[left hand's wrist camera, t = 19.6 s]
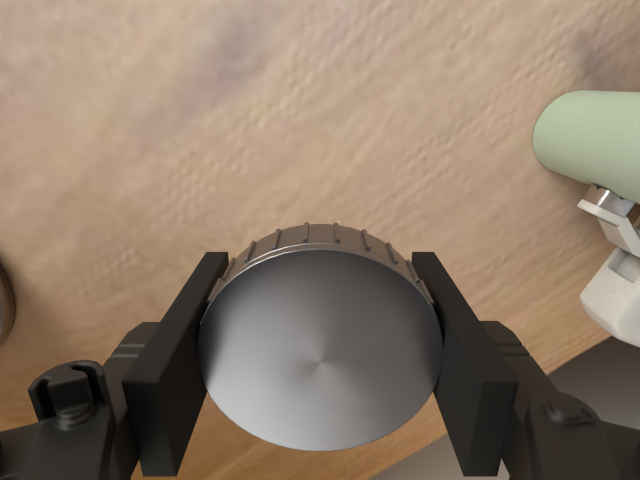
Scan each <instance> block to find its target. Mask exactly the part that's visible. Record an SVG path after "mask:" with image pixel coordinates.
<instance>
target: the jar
mask: <svg viewBox="0 0 640 480" xmlns="http://www.w3.org/2000/svg"><path fill="white" fill-rule="evenodd" d="M532 142H533V149H534V153H535V155H536V157H537V159H538V160H539V162H540V163H541V164H542V165H543V166H545V167H546V168H548V169H550V170H552V171H555V172H557V173H560V174H562V175H565V176H568V177H570V178H573V179H575V180H578V181H581V182H583V183H586V184H588V185H592V184H593V185H596V186H598V187H600V188H604V189H606V190H608V191H611V192H613V193H615V194H617V195H619V196H620V197H622V198H625V199H627V200H630V201H633V202H635V203H638V204H640V92H619V91H592V90H578V91H573V92H569V93H567V94H564V95H562V96H560V97H559V98H557V99H556V100H554V101H553V102H552V103H551V104H549V105H548V106H547V107H546V109H545V110H544V111H543V112H542V114H541V115H540V117H539V119H538V120H537V122H536V125H535V128H534V132H533V138H532Z"/></svg>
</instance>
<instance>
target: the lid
mask: <svg viewBox="0 0 640 480" xmlns="http://www.w3.org/2000/svg"><path fill="white" fill-rule="evenodd" d="M206 303H209V305H208V307H207V309H206V311H205V314H204V316H203V318H202V320H201V322H200V327H199V331H198V336H197V355H198V362H199V369H200V375H201V378H202V381H203V383H204V386H205V388H206V390H207V391H208V393H209V395H210V397H211V398H212V400H213V401H214V402H215V404H216V405H217V406H218V408H219V409H220V410H221V411H222V412H223V413H224V414H225V415H226V416H227V417H228V418H229V419H230V420H231V421H233V422H234V423H235V424H237V425H238V426H239V427H240V428H242V429H244V430H245V431H247V432H249V433H250V434H252V435H254V436H256V437H258V438H260V439H262V440H264V441H267V442H270V443H273V444H276V445H279V446H283V447H287V448H291V449H298V450H305V451H335V450H342V449H349V448H353V447H357V446H361V445H364V444H367V443H370V442H373V441H376V440H378V439H380V438H382V437H384V436H386V435H388V434H390V433H392V432H393V431H395V430H396V429H398V428H400V427H401V426H402V425H404V424H405V423H406V422H407V421H409V420H410V419H411V418H412V417H413V416H414V415H415V414H416V413H417V412H418V411H419V410H420V409H421V408H422V407H423V405H424V404H425V403H426V401H427V400H428V399H429V397H430V395H431V393H432V392H433V390H434V388H435V386H436V384H437V381H438V378H439V376H440V371H441V364H442V357H443V349H444V345H443V335H442V331H441V327H440V323H439V320H438V318H437V316H436V313H435V311H434V309H433V307H432V306H433V305H435V304H434V302H433V300H432V298H431V296H430V294H429V292H428V290H427V288H426V286H425V284H424V282H423V280H421V281H420V280H419V278H418V276H417V274H416V272H415V270H414V268H413V266H412V264H411V262H410V260H409V259H408V260H405V259H404V258H403V257H402V256H401V255H400V254H399V253H398V252H397V251H395V250H394V249H393V248H392V245H391V243H389V242H387V243H385V242H383V241H381V240H380V239H378V238H376V237H374V236H372V235H370V234H368V233H367V232H366V230H364V229H363V230H362V231H359V230H356V229H353V228H349V227H344V226H339V225H338V223H334V225H329V224H311V225H309V223H308V222H307V223H305V224H304V225H301V226H296V227H291V228H287V229H284V230H280V228H279V229H276V232H275V233H273V234H270V235H268V236H266V237H264V238H262V239H260V240H259V241H257V242H255V241H252V242H251V244H250V246H249V247H248V248H247V249H246V250H245V251H243V252H242V253H241V254H240V255H239V256H238V257H237V258H236V259H235V258H232V259H231V261H230V263H229V265H228V267H227V269H226V271H225V273H224V275H223V277H222V279H220V278H218V280H217V282H216V284H215V286H214V288H213V290H212V292H211V294H210V296H209V298H208V300H207V302H206Z"/></svg>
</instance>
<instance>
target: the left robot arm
mask: <svg viewBox="0 0 640 480" xmlns="http://www.w3.org/2000/svg"><path fill="white" fill-rule="evenodd" d="M411 264H412V266H413V268H414V270H415V272H416V274H417V276H418V278H419V280H420V281H421V280H423V282H424V284H425V286H426V288H427V290H428V292H429V294H430V296H431V298H432V300H433V302H434V304H435V305H433V306H432V307H433V309H434V311H435V313H436V316H437V318H438V320H439V323H440V327H441V331H442V335H443V345H444V349H443V357H442V364H441V371H440V376H439V378H438V381H437V384H436V386H435V388H434V390H433V393H434V395H435V398H436V401H437V404H438V407H439V409H440V412H441V415H442V418H443V420H444V423H445V426H446V429H447V431H448V434H449V437H450V440H451V442H452V445H453V448H454V451H455V453H456V456H457V459H458V462H459V464H460V467H461V470H462V473H463V476H497V474H498V470H499V466H500V461H501V458H502V460H503V462H504V464H505V466H506V468H507V470H508V473H509V475H510V477H509V480H640V430H637V429H633V428H629V427H624V426H620V425H616V424H611V423H608V422H605V421H601V420H600V419H599V417H598V416H597V414H596V412H595V411H594V410H592V409H591V408H590V407H589V406H588V405H587V404H585V403H584V402H582V401H581V400H579V399H577V398H575V397H573V396H572V395H568V394H565V393H562V392H559V391H558V390H557V389H556V388H555V386H554V385H553V384H552V382H551V381H550V380H549V378H548V377H547V376H546V374H545V373H544V372H543V371H542V369H541V368H540V367H539V365H538V364H537V363H536V361H535V360H534V359H533V357H532V356H530V354H529V352H528V351H527V350H526V348H525V347H524V346H522V343H521V342H520V341H519V339H518V338H517V337H516V335H515V334H514V333H513V331H511V330H510V329H508V328H507V327H505V326H504V325H503V324H501V323H500V322H498V321H479V320H478V318H477V317H476V315H475V314H474V312H473V311H472V309H471V308H470V306H469V305H468V303H467V302H466V300H465V299H464V297H463V296H462V294H461V293H460V291H459V290H458V288H457V287H456V285H455V284H454V282H453V280H452V279H451V277H450V276H449V274H448V273H447V271H446V270H445V268H444V267H443V265H442V264H441V262H440V261H439V259H438V258H437V256H436V255H435V253H434V252H412V262H411ZM228 265H229V259H228V252H206V254H205V255H204V257H203V258H202V260H201V261H200V263H199V264H198V266H197V267H196V269H195V270H194V272H193V273H192V275H191V276H190V278H189V279H188V281H187V282H186V284H185V285H184V287H183V288H182V290H181V291H180V293H179V295H178V296H177V298H176V299H175V301H174V302H173V304H172V305H171V307H170V308H169V310H168V311H167V313H166V314H165V316H164V317H163V319H162V320H161V322H143V323H141V324H140V325H138V326H137V327H135V328H134V329H133V330H131V331H130V332H128V333H127V335H126V336H125V337H124V339H123V340H122V341H121V343H120V344H119V347H117V348H116V349H115V350H114V352H113V353H112V354H111V358H108V360H107V361H106V362H105V364H104V365H103V366H101V365H100V364H99V363H98V362H95V361H90V360H79V361H72V362H68V363H65V364H61V365H58V366H56V367H54V368H52V369H50V370H48V371H46V372H45V373H43V374H42V375H41V376H39V377H38V378H37V379H35V380H34V381H33V383H32V384H31V385H30V387H29V388H28V389H27V390H28V392H29V395H30V398H31V401H32V404H33V407H34V410H35V413H36V415H37V418H38V421H39V422H38V423H35V424H31V425H27V426H23V427H19V428H14V429H10V430H6V431H2V432H0V480H131V475H132V473H133V471H134V469H135V467H136V465H137V462H138V460H140V465H141V469H142V473H143V476H177V473H178V471H179V468H180V465H181V462H182V460H183V457H184V454H185V451H186V449H187V446H188V443H189V440H190V438H191V435H192V432H193V429H194V426H195V424H196V421H197V418H198V415H199V413H200V410H201V407H202V404H203V402H204V399H205V396H206V393H207V390H206V388H205V386H204V383H203V381H202V378H201V375H200V369H199V362H198V355H197V336H198V331H199V327H200V322H201V320H202V318H203V316H204V314H205V311H206V309H207V307H208V305H209V303H206V302H207V300H208V298H209V296H210V294H211V292H212V290H213V288H214V286H215V284H216V282H217V280H218V278H220V279H222V277H223V275H224V273H225V271H226V269H227V267H228ZM13 321H14V299H13V294H12V290H11V287H10V284H9V282H8V279H7V277H6V275H5V273H4V271H3V269H2V268H1V266H0V347H1V346H2V344H3V343H4V342H5V340H6V339H7V337H8V336H9V333H10V331H11V329H12V325H13Z"/></svg>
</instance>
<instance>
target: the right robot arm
mask: <svg viewBox="0 0 640 480" xmlns="http://www.w3.org/2000/svg"><path fill="white" fill-rule="evenodd" d="M634 204H635V202H633V201H630V200H627V199H625V198H622V197H620V196H619V195H617V194H615V193H613V192H611V191H608V190H606V189H604V188H600V187H598V186H596V185H593V184H592V185H591V186H590V188H589V189H588V191H587V192H586V193H585V195H584V196H583V198H582V200H581V201H580V202H579V204H578V205H577V207H579V208H581V209H583V210H585V211H587V212H589V213H591V214H593V215H596V216H598V217H597V219H598V221H599V223H600V225H601V227H602V229H603V232H604V234H605V236H606V238H607V240H608V241H609V242H611V243H613V244H615V245H617V246H616V248H615V249H614V250H613V252H612V253H611V254H610V256H609V257H608V258H607V260H606V261H605V262H604V264H603V265H602V266H601V268H600V269H599V270H598V272H597V273H596V274H595V276H594V277H593V278H592V280H591V281H590V282H589V284H588V285H587V286H586V287H585V289H584V290H583V291H582V293H581V295H580V301H581V304H582V307H583V309H584V311H585V313H586V314H587V315H588V316H589V317H590V318H591V319H592V320H593V321H594V322H595V323H597V324H598V325H599V326H600V327H601V328H603V329H604V330H605V331H607V332H608V333H609V334H611V335H612V336H614V337H616V338H618V339H619V340H622V341H624V342H627V343H629V344H632V345H634V346H637V347H640V216H639V217H638V219H637V220H636V221H635V223H634V224H633V225H632V224H631V223H630V221H629V219H628V217H627V214H628V213H629V212H630V210H631V209H632V207H633V206H634Z"/></svg>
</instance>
